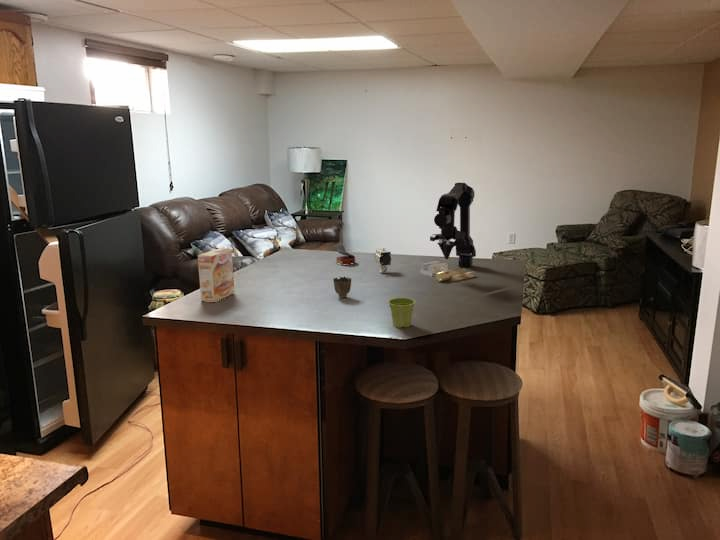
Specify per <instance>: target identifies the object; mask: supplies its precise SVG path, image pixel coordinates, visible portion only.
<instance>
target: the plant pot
mask: <svg viewBox="0 0 720 540" xmlns="http://www.w3.org/2000/svg"><path fill="white" fill-rule="evenodd" d="M387 303H388V304H389V308H390V312H391V318H392V325H393V326H394V327H395V328H408V327H410V326H411V324H412V320H413V319H412V317H413V310H414V307H415V304H416V300H415V299H413V298H409V297H397V298H390V299H389V300H388V301H387Z"/></svg>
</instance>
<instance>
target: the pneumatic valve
mask: <svg viewBox="0 0 720 540" xmlns="http://www.w3.org/2000/svg"><path fill="white" fill-rule="evenodd" d="M391 253H392V252H391V251H389V250H388V249H387V248H378V249H377V248H376V249H375V252H374V260H375V262H376V263H377V264H379V266H378V267H379V270H378V272H379V273H380V274H381V275H382V274H388V268H389V267H388V266H391V265H392V254H391Z"/></svg>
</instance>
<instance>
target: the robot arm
mask: <svg viewBox="0 0 720 540" xmlns="http://www.w3.org/2000/svg"><path fill="white" fill-rule="evenodd" d="M474 198H475V190H474V189H473V187H471V186H470V185H468V184H467V183H465V182H455V183H454V186H453V187H452V188H451V189H450V191H449V192H447V193H444V194H442V195H441V196H440V197H439V198H438V199H439V200H438V201H437V202H438V204H437V206H436V212H438V213H437V214H436V215H435V216H434V218H433V222H434V224H435V225H436V226H437V227H438V229H440V233H433V234H431V235H430V236H429V241H431V242H435V241H438V242H437V245H438V246H439V248H440V250H441V252H442V254H443V256H444V259H445V260H449V258H450V256H451V252H452V250H453V249H454V247H455V255H456V257H458V266H457V267H458V268H465V269H466V268H472V266H473V261H474V260H473V259H474V258H475V257H476V256H477V251H476V247H475V245H474V240H473V239H472V236H471V235H470V233H471V231H470V230H471V228H470V227H471V225H470V224H471V214H470V213H471V205H472V204H473V202H474ZM458 207H459V230H458V228H457V226H455V217H456V215H455V213H456V211H457V209H458Z"/></svg>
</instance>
